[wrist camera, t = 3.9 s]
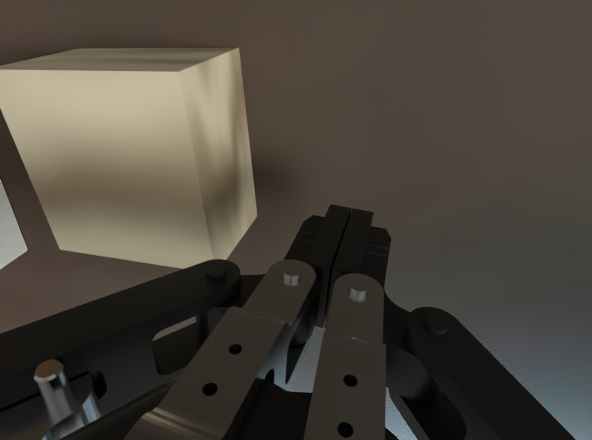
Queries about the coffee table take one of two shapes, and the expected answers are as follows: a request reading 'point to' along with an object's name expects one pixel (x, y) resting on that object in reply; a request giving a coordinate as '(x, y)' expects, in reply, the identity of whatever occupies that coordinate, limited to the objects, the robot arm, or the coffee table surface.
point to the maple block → (136, 150)
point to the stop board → (9, 232)
